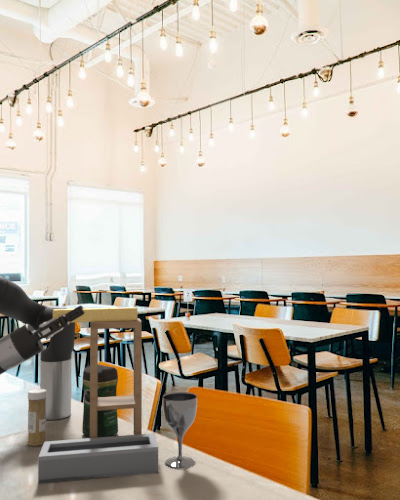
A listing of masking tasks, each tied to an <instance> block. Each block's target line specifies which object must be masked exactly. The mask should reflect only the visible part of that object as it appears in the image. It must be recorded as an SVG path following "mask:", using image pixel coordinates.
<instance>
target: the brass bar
mask: <svg viewBox="0 0 400 500" xmlns="http://www.w3.org/2000/svg"><path fill="white" fill-rule="evenodd" d="M74 309H75V308H66V309H54V310H53V318H55V317H56V318H59V317H60V316H62V315H63V314H67V313H68V312H70V311H72V310H74ZM83 311H84V314H83V315H82V316H80V317H78V318H77V319H75V320H73V321H70V322H75V323H91V322H101V321H134V320H137V318H138V307H102V308H101V307H99V308H94V307H93V308H84V309H83ZM66 316H67V315H66ZM59 323H60V322H59Z"/></svg>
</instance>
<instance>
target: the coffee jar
mask: <svg viewBox="0 0 400 500" xmlns="http://www.w3.org/2000/svg"><path fill="white" fill-rule="evenodd" d="M118 373H119V372H118V369H117V368H115V367H114V366H107V365H103V364H98V397H113V396H117V391H118V390H117V387H118V383H119V376H118V375H119V374H118ZM82 386H83V410H82V411H83V413H82V414H83V415H82V426H81V427H82V434H83V435H84V436H86V437H87V438H90V365H87V366H85V368H84V370H83V373H82ZM118 417H119V416H118V409H116V410H100V411H97V438H98V437H111V436H115V435H117V434H118V432H119V423H118V422H119V420H118Z"/></svg>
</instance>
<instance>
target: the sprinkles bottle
mask: <svg viewBox="0 0 400 500" xmlns="http://www.w3.org/2000/svg"><path fill="white" fill-rule="evenodd" d="M46 396H47V391H46V390H45V389H40V388H33V389H31V390H29V391H28V392H27V399H28V400H27V401H28V411H27V435H28V436H27V445H28V446H32V447H35V446H41V445H43V444H44V442H46V441H47V439H46V437H47V436H46V434H47V433H46V429H47V426H46V424H47V420H46Z"/></svg>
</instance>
